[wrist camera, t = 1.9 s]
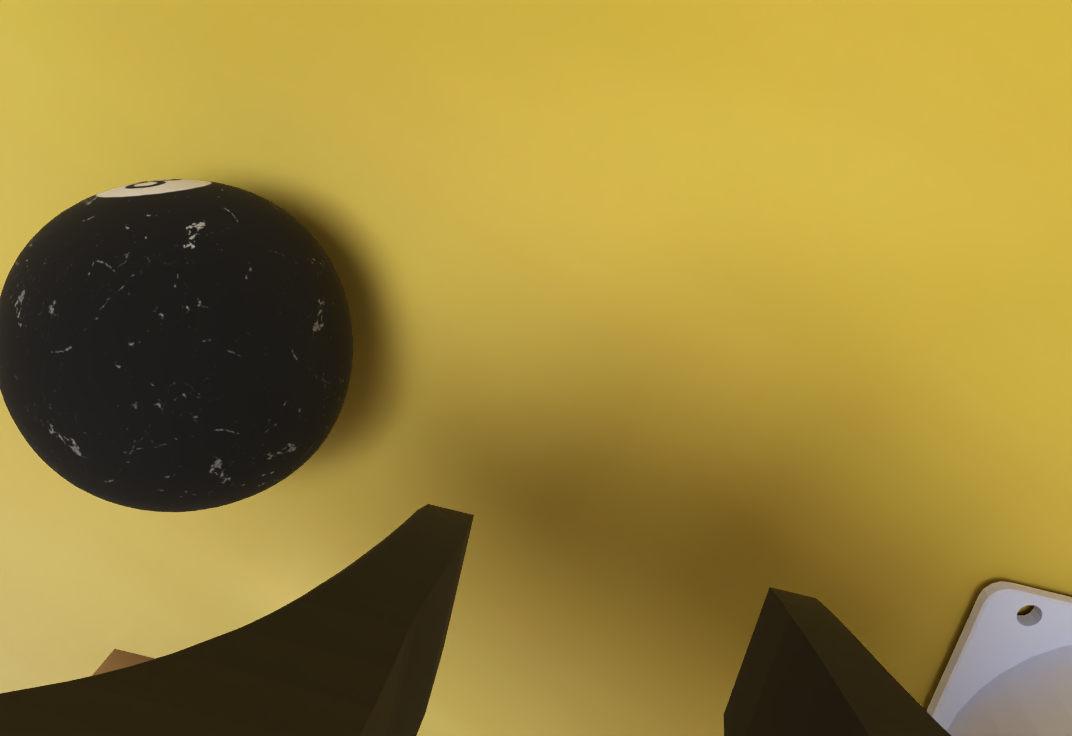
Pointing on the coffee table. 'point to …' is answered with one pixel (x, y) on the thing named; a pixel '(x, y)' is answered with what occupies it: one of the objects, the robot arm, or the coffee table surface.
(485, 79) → the coffee table surface
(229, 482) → the billiard ball
